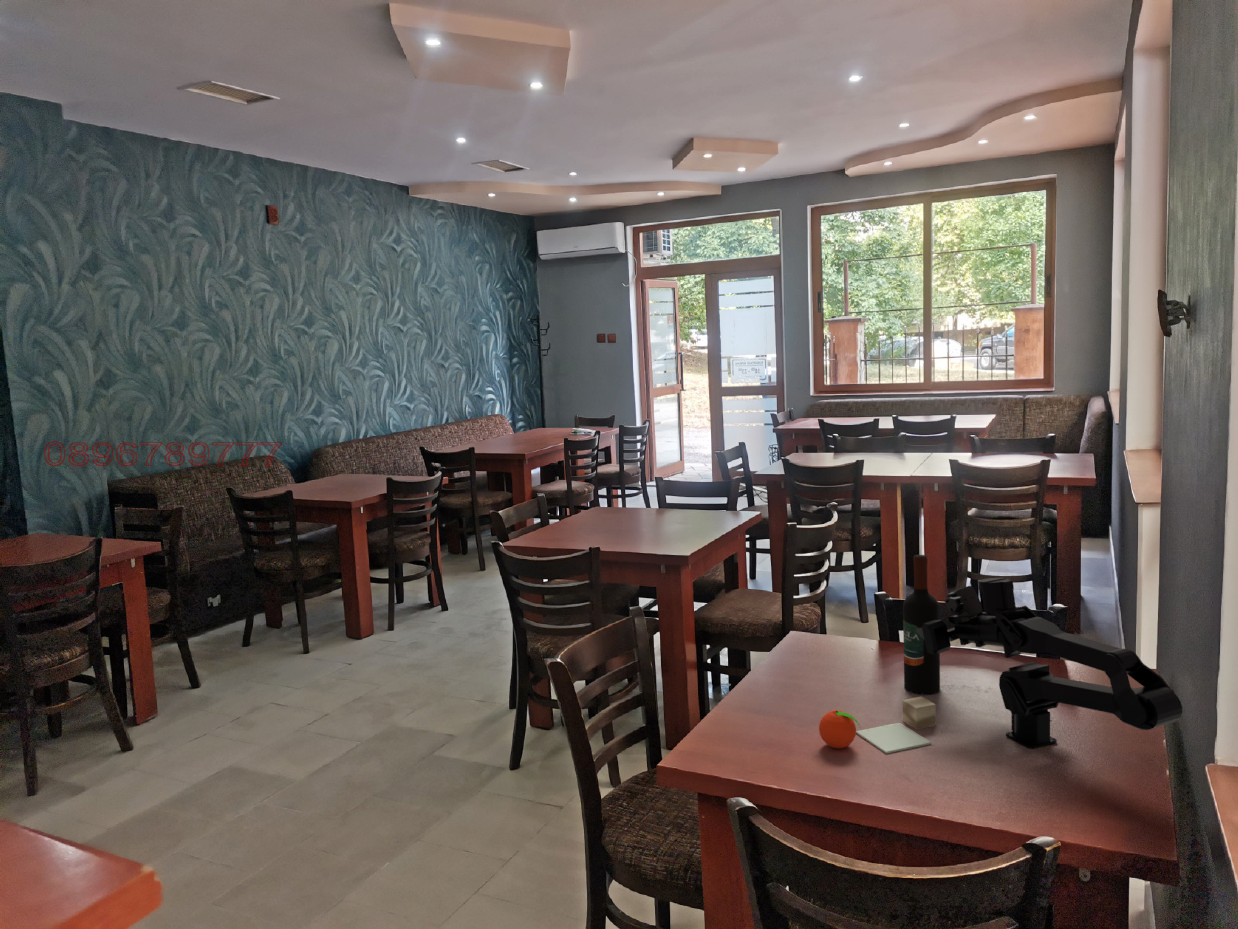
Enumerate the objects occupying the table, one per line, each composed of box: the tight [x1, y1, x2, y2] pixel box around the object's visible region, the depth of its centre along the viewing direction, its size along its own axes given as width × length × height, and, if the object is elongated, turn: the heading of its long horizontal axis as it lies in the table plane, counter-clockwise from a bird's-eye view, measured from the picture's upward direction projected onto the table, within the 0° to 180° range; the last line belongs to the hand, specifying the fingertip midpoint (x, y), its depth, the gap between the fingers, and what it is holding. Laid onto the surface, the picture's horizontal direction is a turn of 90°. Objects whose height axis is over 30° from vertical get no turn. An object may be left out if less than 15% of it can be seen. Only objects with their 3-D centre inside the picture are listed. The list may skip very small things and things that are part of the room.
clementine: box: [818, 709, 862, 749], centre depth 168 cm, size 8×7×7 cm
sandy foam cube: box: [901, 696, 937, 730], centre depth 177 cm, size 4×4×4 cm
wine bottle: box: [902, 554, 941, 696], centre depth 193 cm, size 8×8×30 cm
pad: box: [856, 722, 932, 754], centre depth 170 cm, size 10×10×1 cm
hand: (933, 624), depth 188 cm, fingers open, 9 cm apart
